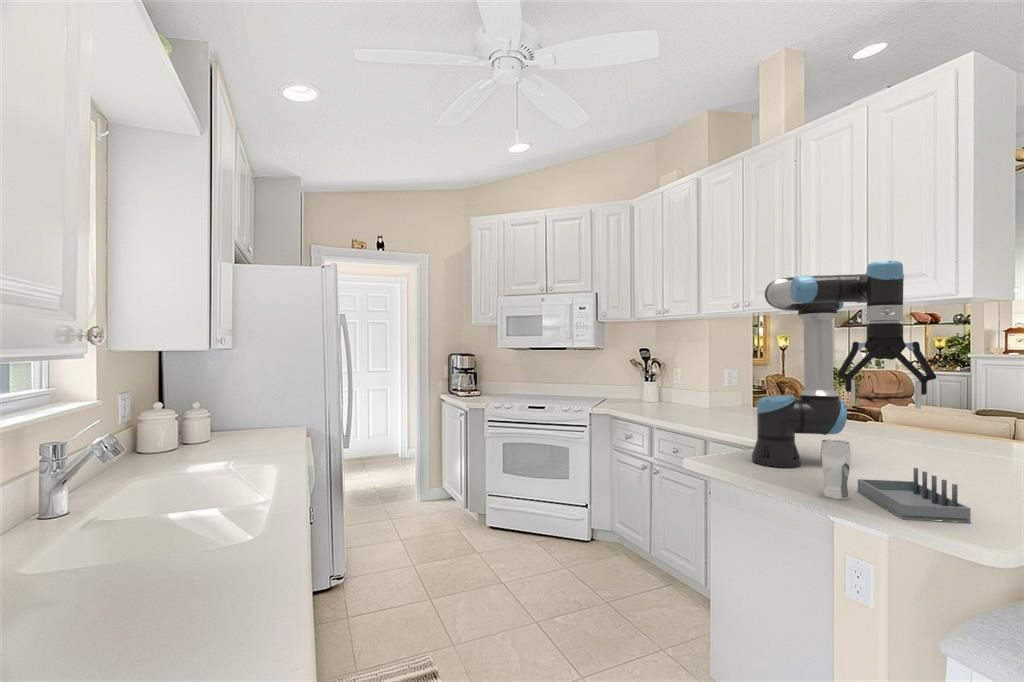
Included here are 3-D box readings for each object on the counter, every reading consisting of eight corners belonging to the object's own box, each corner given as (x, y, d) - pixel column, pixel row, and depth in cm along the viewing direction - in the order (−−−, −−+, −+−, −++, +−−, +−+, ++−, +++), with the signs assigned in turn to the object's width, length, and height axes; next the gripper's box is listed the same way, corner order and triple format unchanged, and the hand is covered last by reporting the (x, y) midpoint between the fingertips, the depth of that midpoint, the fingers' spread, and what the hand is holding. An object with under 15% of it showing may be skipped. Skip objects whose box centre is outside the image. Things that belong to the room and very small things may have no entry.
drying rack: (857, 491, 146) (857, 463, 146) (913, 493, 143) (913, 465, 143) (903, 519, 123) (903, 486, 123) (970, 523, 121) (970, 488, 121)
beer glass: (855, 501, 137) (855, 444, 137) (826, 499, 139) (826, 443, 139) (844, 493, 144) (844, 439, 144) (817, 492, 146) (816, 438, 146)
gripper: (828, 323, 133) (828, 405, 134) (952, 321, 122) (951, 411, 122) (826, 323, 140) (826, 401, 140) (943, 322, 128) (943, 407, 129)
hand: (884, 406), depth 131 cm, fingers open, 13 cm apart
